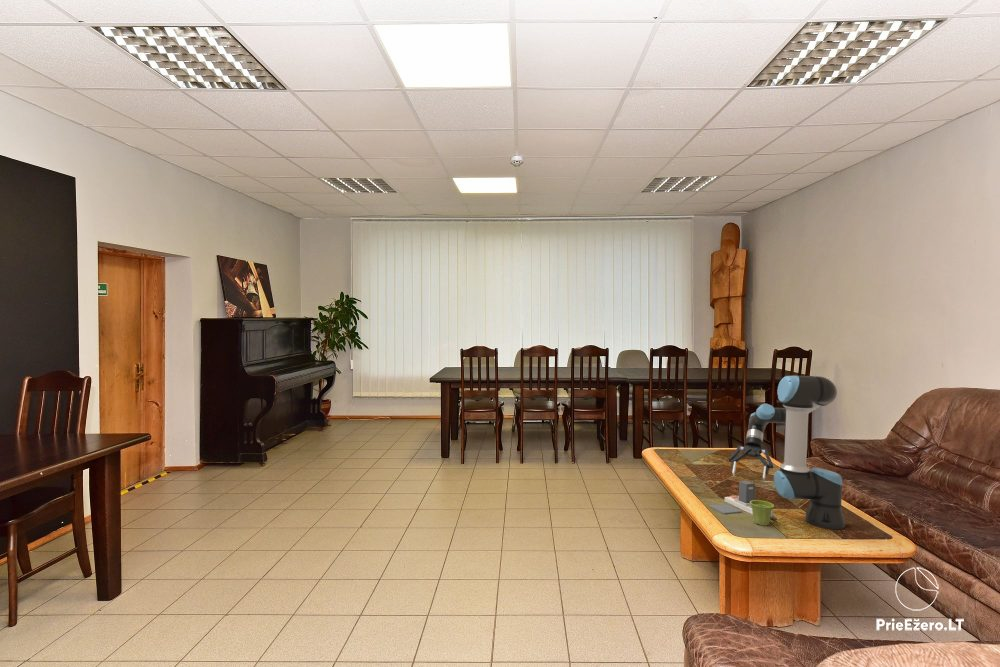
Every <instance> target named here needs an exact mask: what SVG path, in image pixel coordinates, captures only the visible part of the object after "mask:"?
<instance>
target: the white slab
mask: <svg viewBox="0 0 1000 667" xmlns="http://www.w3.org/2000/svg"><path fill="white" fill-rule="evenodd" d="M724 502H726V504H728V505H731V506H733V507H735V508H737V509H739V510H741V511H745V512H747V513H748V514H751V515H752V516H753V512H752V507H751V504H750V503H744V502H741V501H739V495H736V494H735V495H734V494H733V495H730V496H725V497H724ZM773 513H774V512H773V510H772V511H771V516H770V520H774V521H777V520H778V518H777V517H775V516H773V515H774V514H773Z"/></svg>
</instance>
